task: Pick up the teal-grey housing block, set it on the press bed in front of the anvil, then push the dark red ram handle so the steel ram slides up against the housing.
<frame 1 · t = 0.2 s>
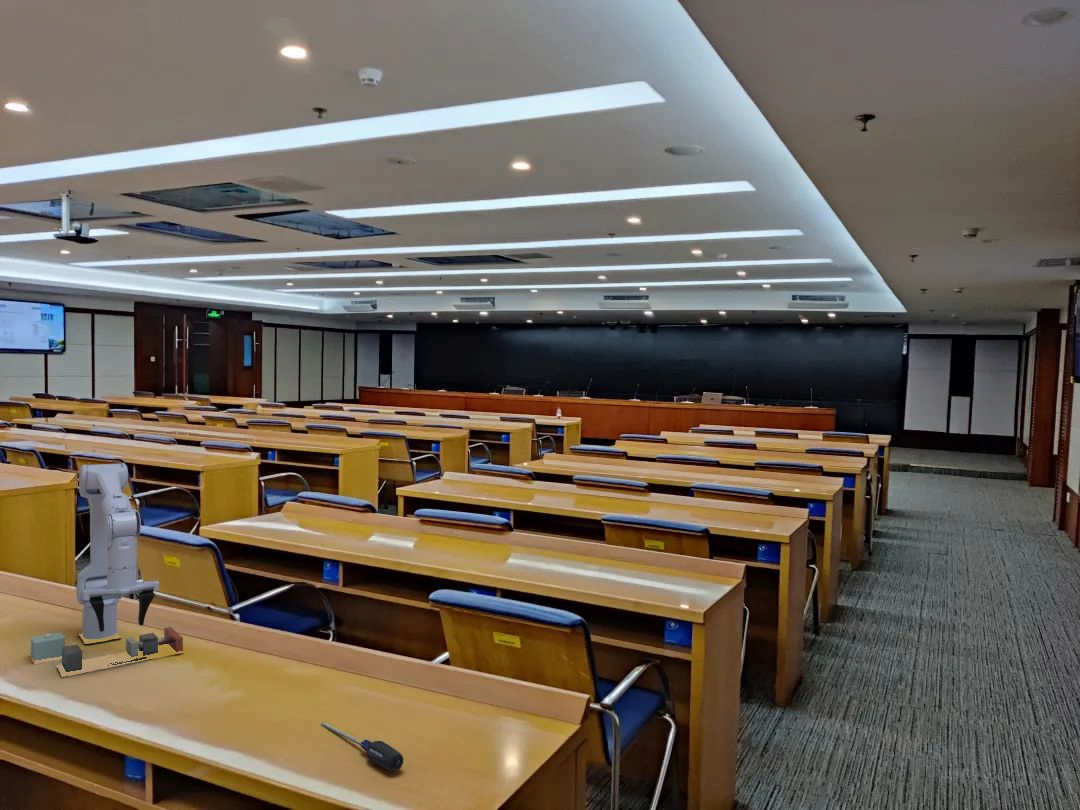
hand: (121, 627, 166), 10 cm above the table, tool pointing down, fingers open, 7 cm apart
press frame: (117, 660, 172), on the table
housing: (48, 659, 173), on the table
ram: (153, 642, 177), point 3 cm above the table, slide at 0.0 cm
screwdriver: (357, 750, 134), on the table
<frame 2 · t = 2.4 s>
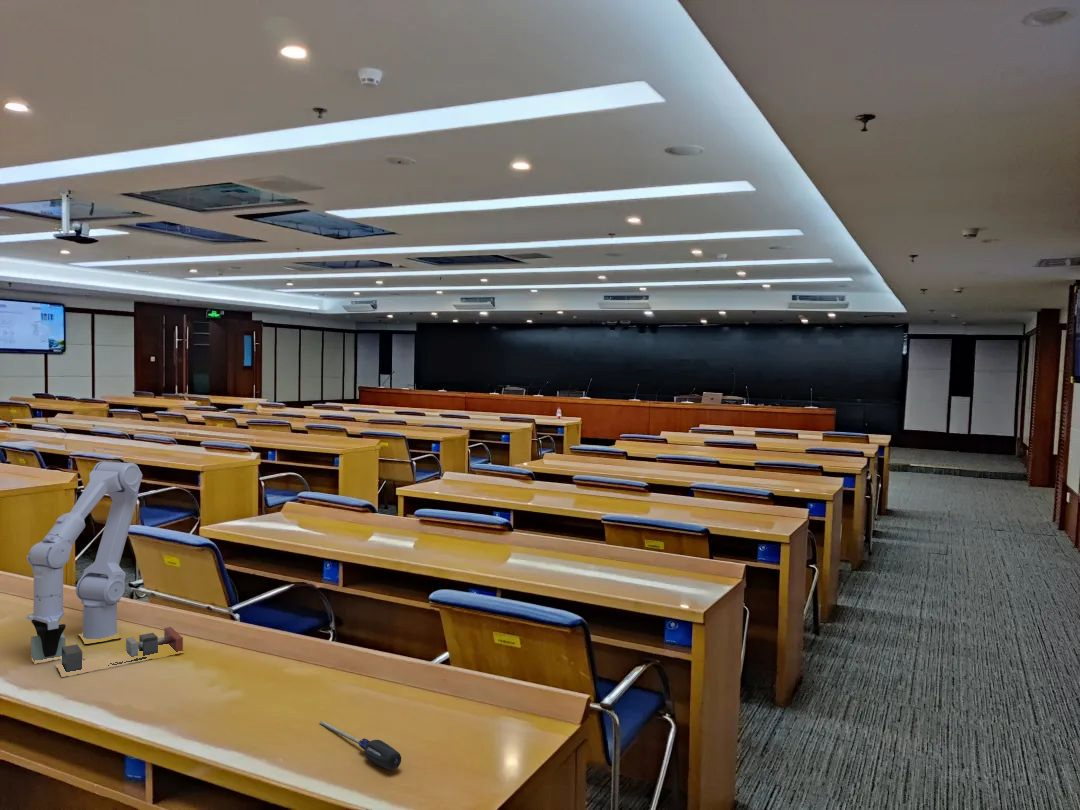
hand: (48, 652, 173), 1 cm above the table, tool pointing down, fingers closed on housing, 5 cm apart
housing: (48, 658, 173), on the table, touching gripper
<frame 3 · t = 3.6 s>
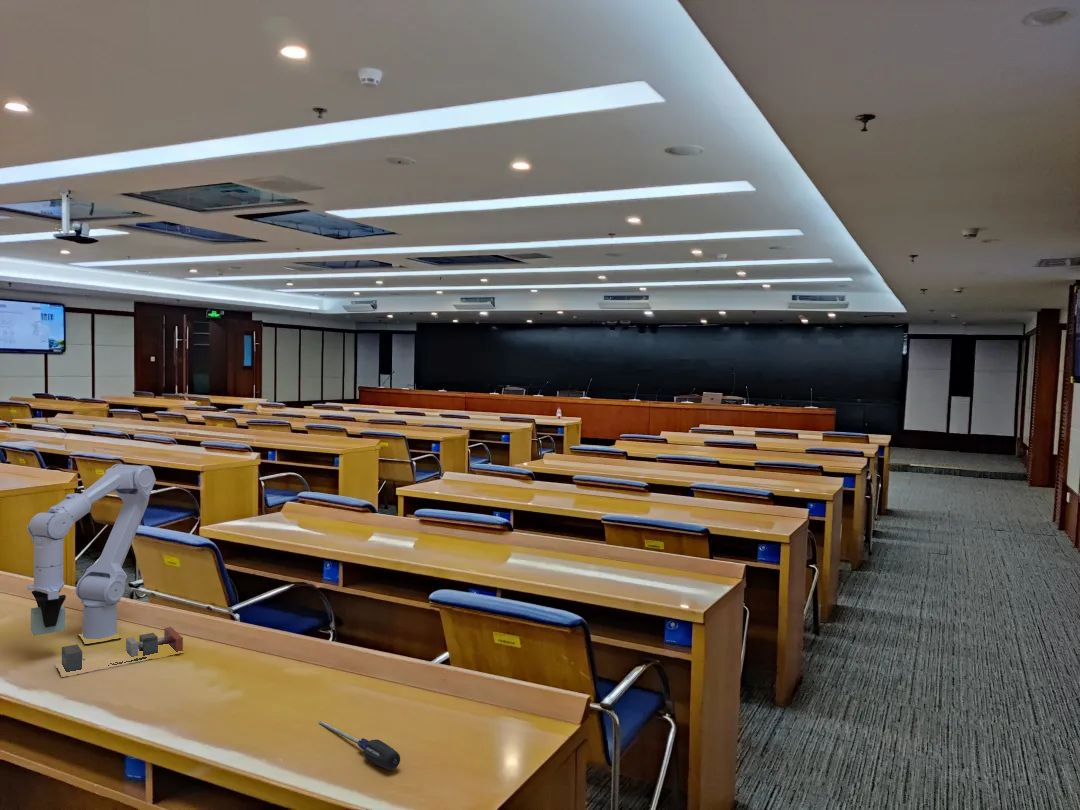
hand: (48, 623, 172), 8 cm above the table, tool pointing down, fingers closed on housing, 5 cm apart
housing: (48, 630, 172), point 7 cm above the table, touching gripper
everything else where it was.
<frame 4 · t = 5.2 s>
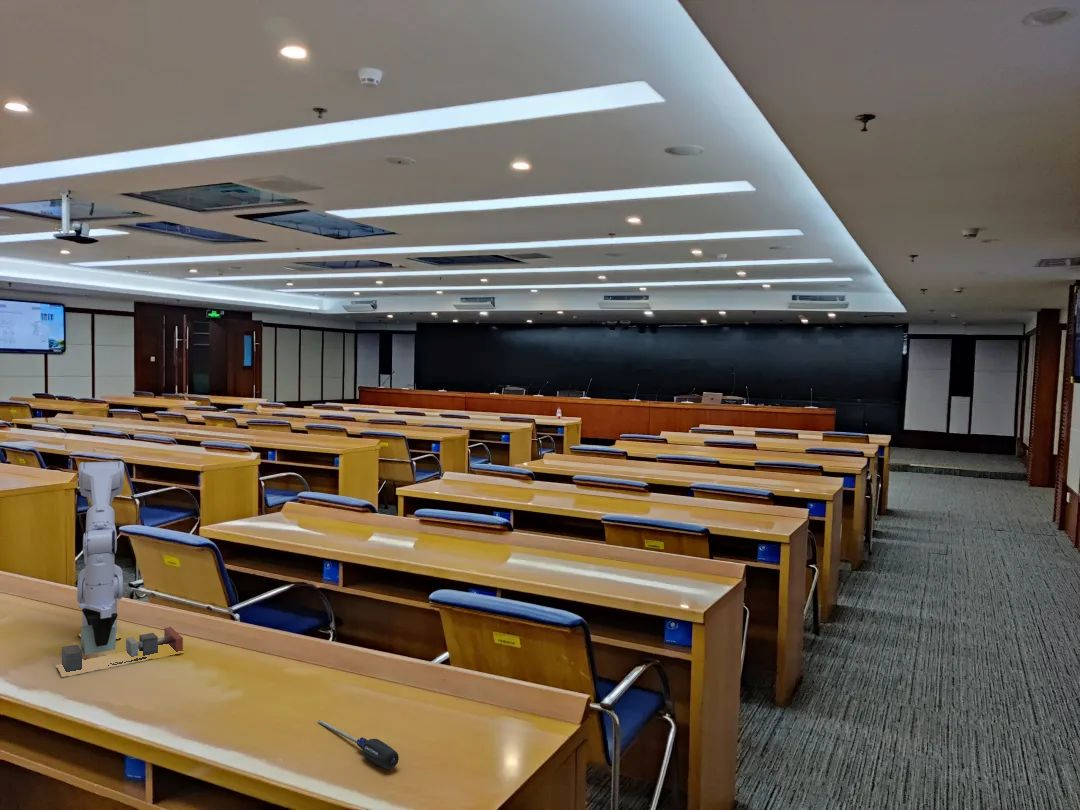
hand: (99, 641, 170), 5 cm above the table, tool pointing down, fingers closed on housing, 5 cm apart
housing: (98, 648, 169), point 4 cm above the table, touching gripper
when the fingers open (3 cm above the table, at t = 6.1 s): housing drops 1 cm, resting on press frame.
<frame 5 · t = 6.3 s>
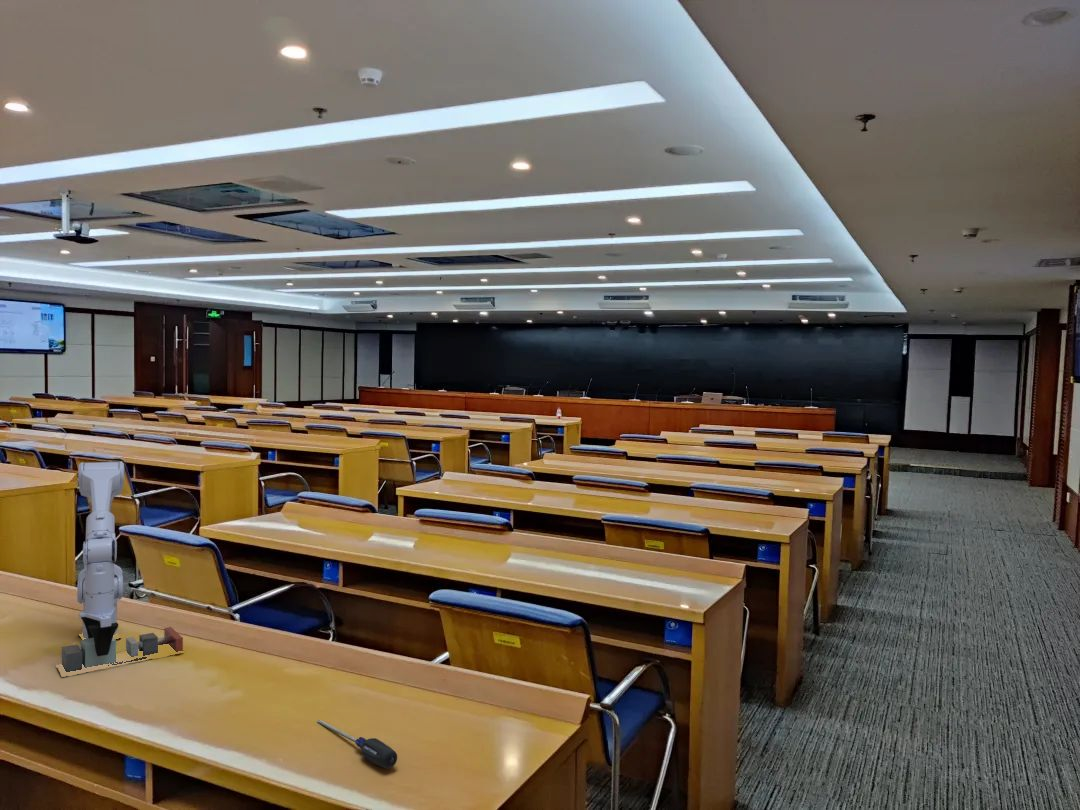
hand: (99, 650, 170), 3 cm above the table, tool pointing down, fingers open, 7 cm apart
housing: (98, 662, 170), point 1 cm above the table, touching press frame
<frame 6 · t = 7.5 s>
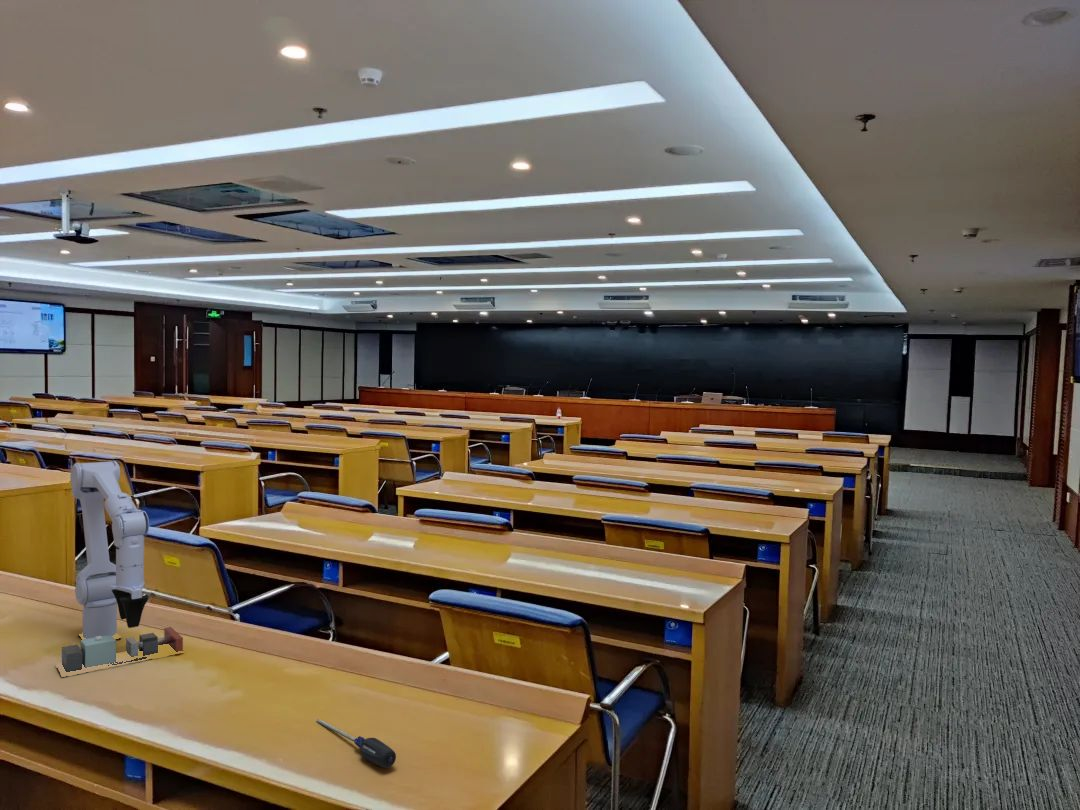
hand: (129, 622, 173), 8 cm above the table, tool pointing down, fingers open, 7 cm apart
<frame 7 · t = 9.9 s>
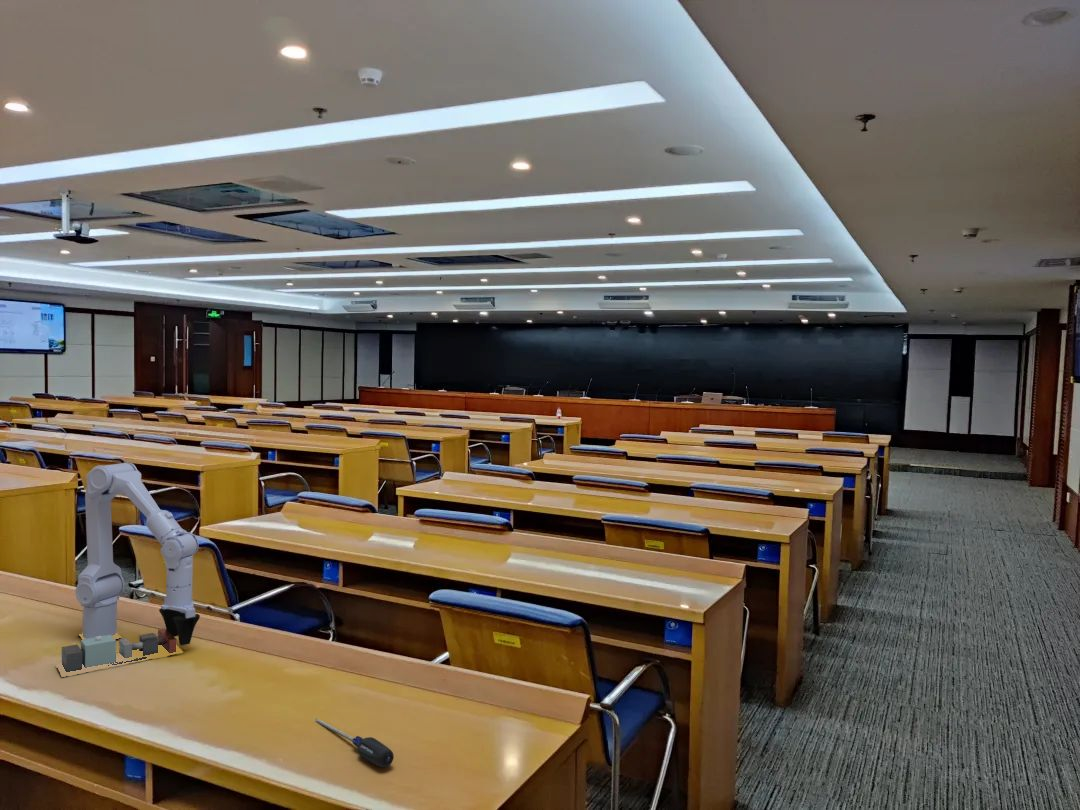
hand: (178, 640, 181), 2 cm above the table, tool pointing down, fingers open, 7 cm apart
ram: (146, 644, 176), point 3 cm above the table, slide at 1.4 cm, touching gripper
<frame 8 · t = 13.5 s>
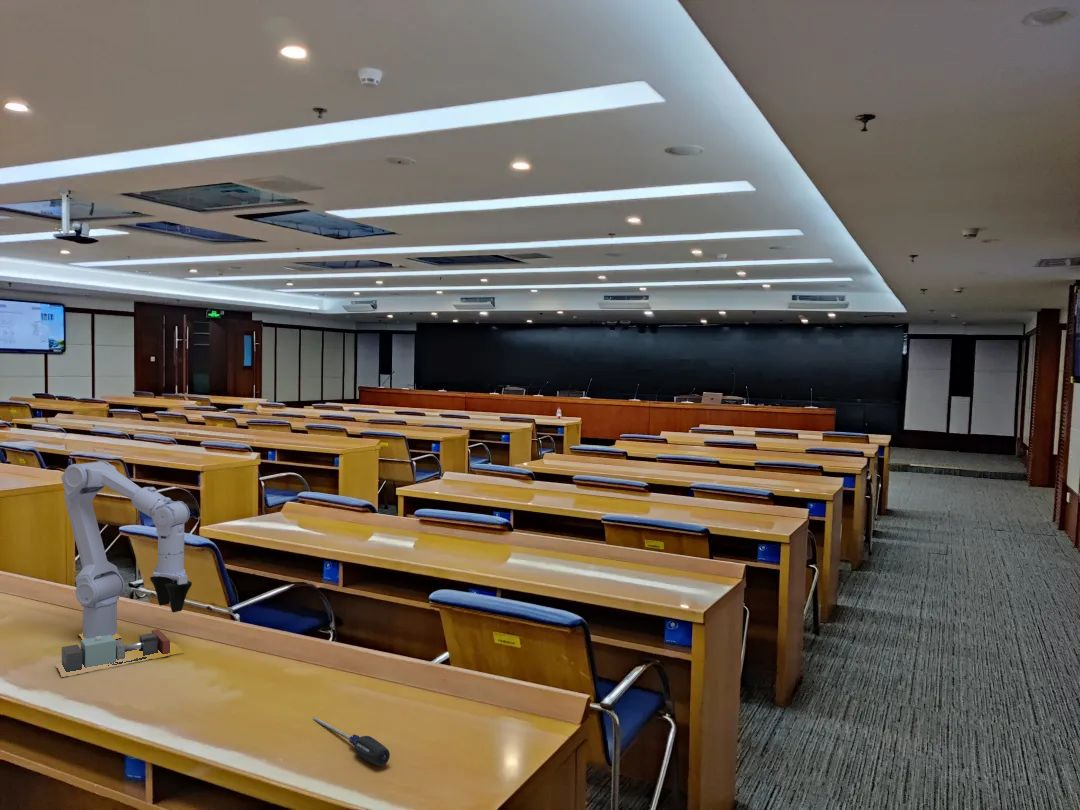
hand: (170, 608, 182), 9 cm above the table, tool pointing down, fingers open, 7 cm apart
ram: (139, 645, 175), point 3 cm above the table, slide at 2.8 cm
at the end: housing 0.1 cm from the target spot on the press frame, point 0.6 cm above the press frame's base; ram slide at 2.8 cm; housing tilted 0° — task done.
